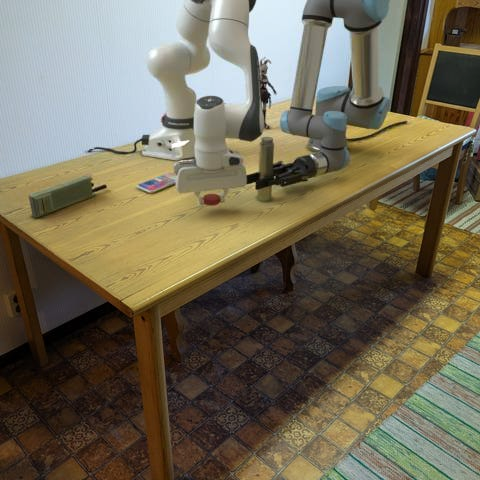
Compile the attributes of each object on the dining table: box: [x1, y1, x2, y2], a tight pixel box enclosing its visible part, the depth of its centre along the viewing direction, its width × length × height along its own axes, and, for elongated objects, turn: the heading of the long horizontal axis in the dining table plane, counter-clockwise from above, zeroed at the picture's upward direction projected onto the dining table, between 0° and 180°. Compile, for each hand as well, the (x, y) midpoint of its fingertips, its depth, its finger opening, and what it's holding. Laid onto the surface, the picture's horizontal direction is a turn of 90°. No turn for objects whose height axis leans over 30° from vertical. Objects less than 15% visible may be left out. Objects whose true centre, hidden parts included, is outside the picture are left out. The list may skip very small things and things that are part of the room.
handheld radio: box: [28, 173, 108, 219], centre depth 150 cm, size 7×3×25 cm
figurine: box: [259, 56, 278, 130], centre depth 211 cm, size 15×6×30 cm, turn 132°
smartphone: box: [136, 172, 176, 194], centre depth 164 cm, size 7×1×15 cm
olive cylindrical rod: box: [257, 136, 275, 202], centre depth 151 cm, size 4×4×19 cm
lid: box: [202, 193, 221, 207], centre depth 146 cm, size 5×5×2 cm
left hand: (211, 203), depth 147 cm, fingers closed on lid, 5 cm apart
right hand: (251, 182), depth 150 cm, fingers closed on olive cylindrical rod, 4 cm apart
